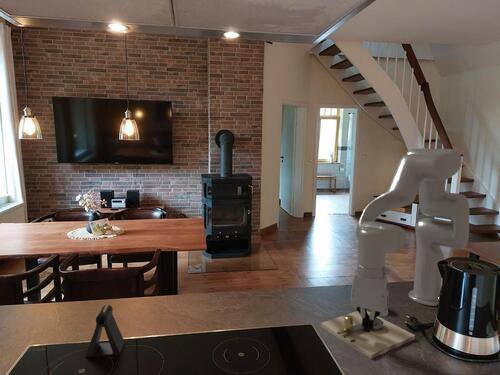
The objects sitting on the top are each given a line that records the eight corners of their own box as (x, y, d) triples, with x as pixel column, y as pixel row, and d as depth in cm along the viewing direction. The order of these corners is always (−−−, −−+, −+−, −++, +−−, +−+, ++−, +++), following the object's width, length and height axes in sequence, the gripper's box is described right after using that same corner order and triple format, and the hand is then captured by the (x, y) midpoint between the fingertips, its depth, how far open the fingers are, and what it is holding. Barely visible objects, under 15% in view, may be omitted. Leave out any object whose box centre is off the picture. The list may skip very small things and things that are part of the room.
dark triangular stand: (124, 342, 103) (123, 304, 101) (119, 355, 97) (118, 314, 95) (92, 344, 102) (90, 305, 100) (85, 357, 96) (83, 315, 94)
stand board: (363, 312, 124) (363, 308, 124) (414, 339, 107) (415, 334, 107) (320, 326, 114) (320, 322, 113) (370, 359, 97) (371, 354, 96)
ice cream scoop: (373, 319, 116) (374, 305, 115) (387, 328, 110) (388, 313, 110) (333, 329, 109) (334, 314, 108) (346, 339, 104) (347, 323, 103)
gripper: (400, 271, 101) (396, 330, 103) (348, 261, 108) (345, 317, 111) (396, 280, 94) (392, 343, 97) (341, 269, 102) (338, 328, 104)
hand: (367, 329), depth 104 cm, fingers closed
